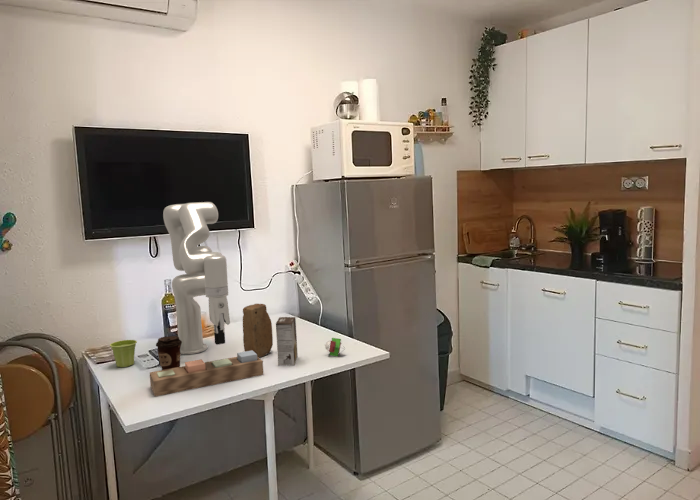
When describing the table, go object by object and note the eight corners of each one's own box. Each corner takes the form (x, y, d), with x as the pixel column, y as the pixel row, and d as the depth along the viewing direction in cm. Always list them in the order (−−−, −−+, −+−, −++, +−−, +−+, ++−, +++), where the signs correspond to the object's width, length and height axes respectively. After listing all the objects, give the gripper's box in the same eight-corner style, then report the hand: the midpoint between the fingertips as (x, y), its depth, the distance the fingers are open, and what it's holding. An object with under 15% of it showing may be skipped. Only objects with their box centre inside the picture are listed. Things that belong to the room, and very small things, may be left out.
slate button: (242, 368, 182) (241, 357, 182) (237, 363, 187) (237, 352, 187) (257, 365, 185) (257, 354, 184) (252, 361, 190) (252, 350, 189)
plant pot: (112, 363, 203) (110, 341, 202) (138, 359, 206) (136, 338, 206) (111, 370, 194) (109, 348, 193) (139, 366, 198) (137, 344, 197)
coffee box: (281, 358, 202) (279, 316, 200) (298, 357, 201) (296, 316, 200) (277, 366, 192) (275, 322, 191) (294, 365, 192) (292, 322, 190)
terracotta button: (188, 378, 174) (188, 366, 174) (185, 373, 179) (184, 362, 178) (206, 375, 177) (205, 363, 176) (202, 370, 181) (201, 359, 181)
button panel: (154, 396, 167) (153, 380, 167) (150, 386, 176) (149, 371, 175) (263, 374, 184) (262, 360, 183) (254, 366, 192) (253, 352, 192)
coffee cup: (168, 378, 183) (165, 342, 182) (153, 375, 188) (150, 339, 186) (188, 371, 191) (185, 336, 189) (172, 367, 195) (170, 333, 193)
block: (254, 359, 201) (251, 308, 198) (242, 356, 205) (239, 306, 203) (276, 352, 209) (273, 303, 207) (263, 349, 214) (260, 301, 211)
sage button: (216, 377, 178) (215, 365, 178) (212, 372, 183) (211, 361, 183) (232, 374, 181) (232, 362, 180) (228, 369, 186) (227, 358, 185)
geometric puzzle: (336, 344, 209) (328, 332, 204) (350, 347, 205) (342, 334, 200) (327, 359, 205) (319, 346, 200) (342, 362, 201) (333, 349, 196)
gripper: (233, 293, 174) (236, 347, 176) (222, 286, 187) (225, 336, 189) (210, 296, 171) (214, 351, 173) (200, 289, 184) (204, 340, 186)
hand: (220, 343), depth 181 cm, fingers closed
